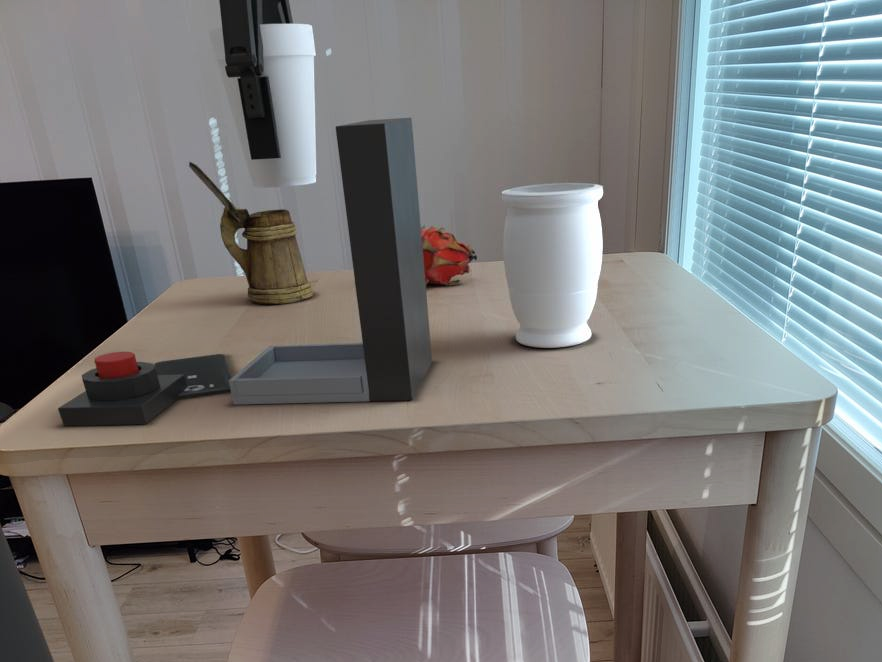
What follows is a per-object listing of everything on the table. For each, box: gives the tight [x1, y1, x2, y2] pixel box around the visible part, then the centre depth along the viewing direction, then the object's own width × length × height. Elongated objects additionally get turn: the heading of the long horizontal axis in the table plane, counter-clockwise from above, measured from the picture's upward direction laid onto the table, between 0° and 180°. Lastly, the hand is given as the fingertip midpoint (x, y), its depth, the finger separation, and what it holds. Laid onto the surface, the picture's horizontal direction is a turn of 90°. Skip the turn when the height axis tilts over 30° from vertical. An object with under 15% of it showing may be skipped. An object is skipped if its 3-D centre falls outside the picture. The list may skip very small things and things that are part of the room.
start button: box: [93, 351, 139, 378], centre depth 80 cm, size 4×4×2 cm
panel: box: [57, 361, 187, 427], centre depth 81 cm, size 8×10×4 cm
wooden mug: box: [188, 161, 314, 305], centre depth 119 cm, size 9×14×18 cm, turn 111°
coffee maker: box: [229, 117, 433, 406], centre depth 80 cm, size 17×13×22 cm
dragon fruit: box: [421, 224, 478, 287], centre depth 125 cm, size 8×8×12 cm
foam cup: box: [209, 23, 317, 189], centre depth 84 cm, size 10×9×13 cm
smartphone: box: [154, 353, 232, 401], centre depth 90 cm, size 8×15×1 cm, turn 18°
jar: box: [501, 182, 604, 349], centre depth 91 cm, size 11×10×15 cm
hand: (280, 155), depth 86 cm, fingers closed on foam cup, 9 cm apart
